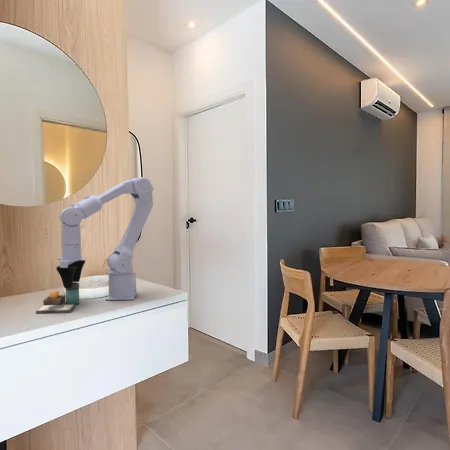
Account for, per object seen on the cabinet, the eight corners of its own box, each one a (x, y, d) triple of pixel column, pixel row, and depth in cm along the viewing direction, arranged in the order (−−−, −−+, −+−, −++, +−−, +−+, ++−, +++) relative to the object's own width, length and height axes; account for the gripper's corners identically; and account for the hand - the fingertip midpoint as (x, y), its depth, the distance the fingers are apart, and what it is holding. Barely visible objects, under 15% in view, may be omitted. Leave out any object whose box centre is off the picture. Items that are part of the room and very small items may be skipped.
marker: (81, 302, 111) (80, 282, 110) (77, 306, 107) (76, 285, 106) (68, 302, 110) (67, 282, 110) (64, 306, 106) (63, 285, 106)
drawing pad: (75, 307, 106) (75, 304, 106) (70, 312, 101) (70, 309, 101) (42, 308, 105) (42, 304, 105) (35, 313, 100) (35, 310, 100)
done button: (60, 299, 109) (60, 290, 109) (57, 301, 107) (57, 292, 106) (51, 299, 109) (51, 290, 109) (48, 301, 106) (48, 293, 106)
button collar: (65, 302, 111) (65, 295, 111) (59, 307, 106) (59, 299, 106) (49, 302, 110) (49, 295, 110) (43, 307, 105) (43, 300, 105)
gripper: (66, 241, 114) (67, 279, 115) (49, 247, 99) (50, 291, 100) (87, 241, 115) (87, 279, 116) (73, 247, 100) (74, 290, 101)
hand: (72, 284), depth 108 cm, fingers open, 7 cm apart
